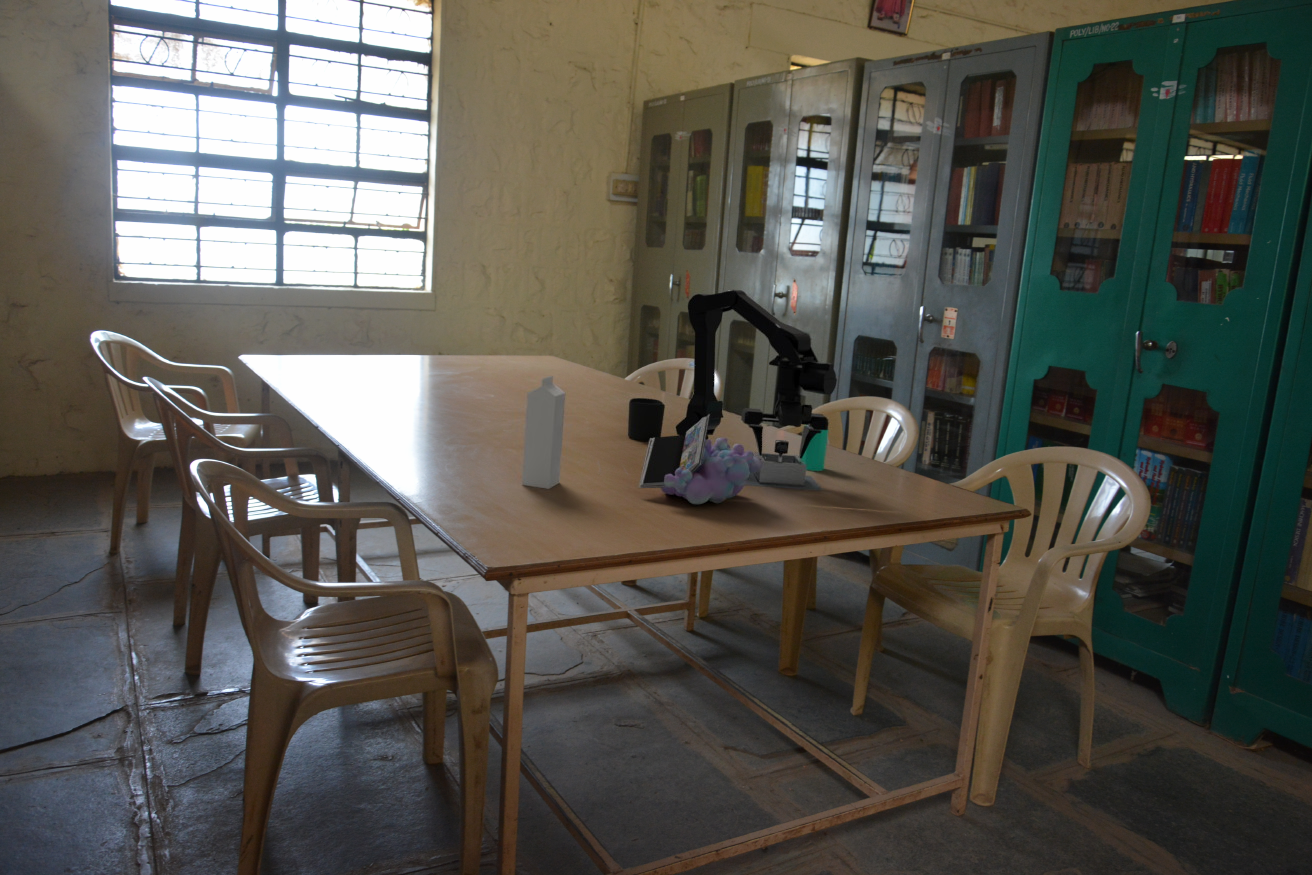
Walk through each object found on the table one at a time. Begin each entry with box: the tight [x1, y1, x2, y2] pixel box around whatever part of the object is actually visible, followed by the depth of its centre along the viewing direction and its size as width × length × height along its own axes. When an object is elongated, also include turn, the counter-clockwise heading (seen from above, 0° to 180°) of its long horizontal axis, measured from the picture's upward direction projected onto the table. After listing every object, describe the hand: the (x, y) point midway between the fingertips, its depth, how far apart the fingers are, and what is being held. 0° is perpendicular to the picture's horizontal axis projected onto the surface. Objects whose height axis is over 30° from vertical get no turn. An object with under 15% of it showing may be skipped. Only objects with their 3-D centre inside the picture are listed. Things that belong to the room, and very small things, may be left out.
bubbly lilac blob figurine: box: [638, 414, 762, 505], centre depth 190 cm, size 20×22×18 cm
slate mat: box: [745, 473, 825, 492], centre depth 213 cm, size 18×14×1 cm
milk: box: [521, 375, 566, 490], centre depth 190 cm, size 6×6×22 cm
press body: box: [753, 451, 807, 487], centre depth 213 cm, size 13×10×5 cm
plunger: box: [773, 439, 789, 462], centre depth 212 cm, size 7×7×8 cm
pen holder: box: [627, 397, 666, 442], centre depth 249 cm, size 9×9×10 cm
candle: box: [801, 425, 829, 472], centre depth 229 cm, size 6×6×12 cm
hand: (780, 456), depth 212 cm, fingers open, 9 cm apart
